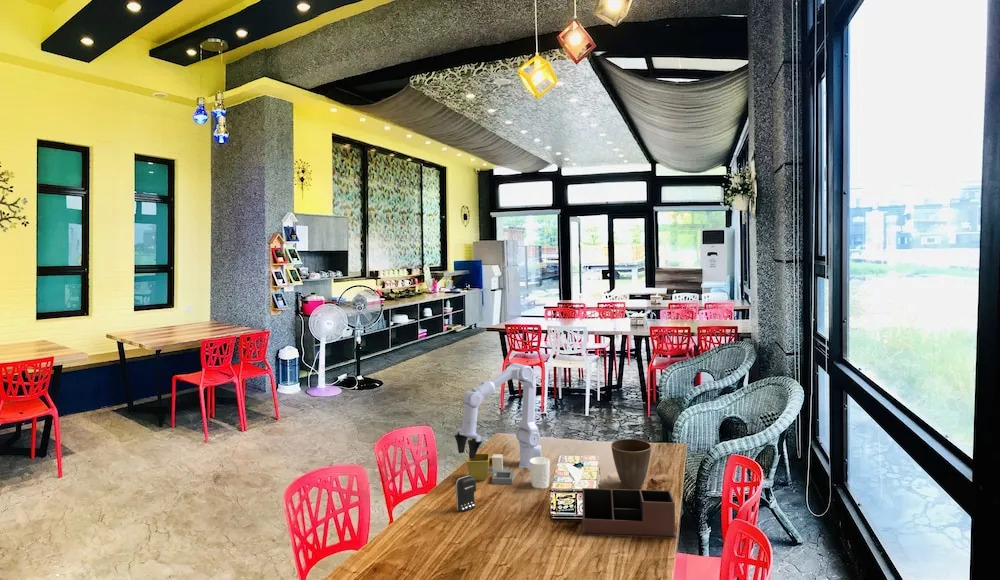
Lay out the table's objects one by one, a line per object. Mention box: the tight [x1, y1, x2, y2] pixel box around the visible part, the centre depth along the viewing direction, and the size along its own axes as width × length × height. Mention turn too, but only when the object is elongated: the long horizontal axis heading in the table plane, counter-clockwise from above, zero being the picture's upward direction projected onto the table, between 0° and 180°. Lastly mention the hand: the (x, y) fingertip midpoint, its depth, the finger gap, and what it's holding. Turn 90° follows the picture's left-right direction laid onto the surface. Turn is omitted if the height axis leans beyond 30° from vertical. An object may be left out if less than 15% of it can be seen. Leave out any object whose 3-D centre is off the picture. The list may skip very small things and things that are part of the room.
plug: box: [491, 453, 504, 472], centre depth 234 cm, size 4×4×6 cm
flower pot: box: [466, 452, 491, 482], centre depth 226 cm, size 9×9×9 cm
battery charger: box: [455, 474, 477, 513], centre depth 198 cm, size 7×4×11 cm, turn 126°
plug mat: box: [488, 465, 510, 474], centre depth 235 cm, size 9×8×1 cm
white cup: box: [529, 456, 551, 489], centre depth 217 cm, size 8×8×10 cm
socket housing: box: [491, 470, 515, 485], centre depth 223 cm, size 8×8×3 cm
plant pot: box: [610, 438, 652, 490], centre depth 214 cm, size 15×15×16 cm
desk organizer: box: [581, 487, 678, 539], centre depth 180 cm, size 10×29×11 cm, turn 82°
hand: (466, 455), depth 223 cm, fingers open, 7 cm apart
